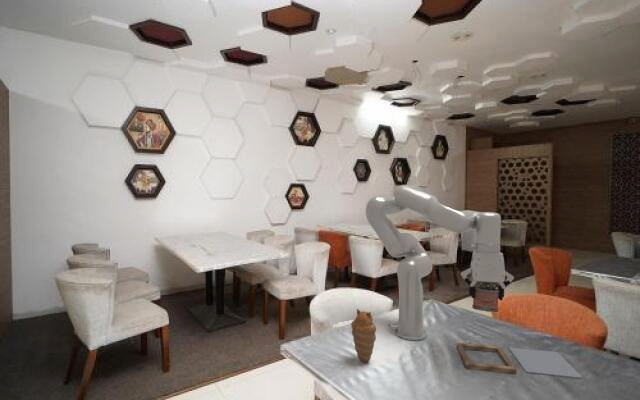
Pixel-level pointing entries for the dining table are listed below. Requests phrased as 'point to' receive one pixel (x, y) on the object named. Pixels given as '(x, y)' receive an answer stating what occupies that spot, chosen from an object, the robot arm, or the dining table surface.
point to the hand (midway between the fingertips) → (486, 297)
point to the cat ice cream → (363, 335)
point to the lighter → (486, 297)
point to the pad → (544, 363)
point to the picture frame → (486, 367)
